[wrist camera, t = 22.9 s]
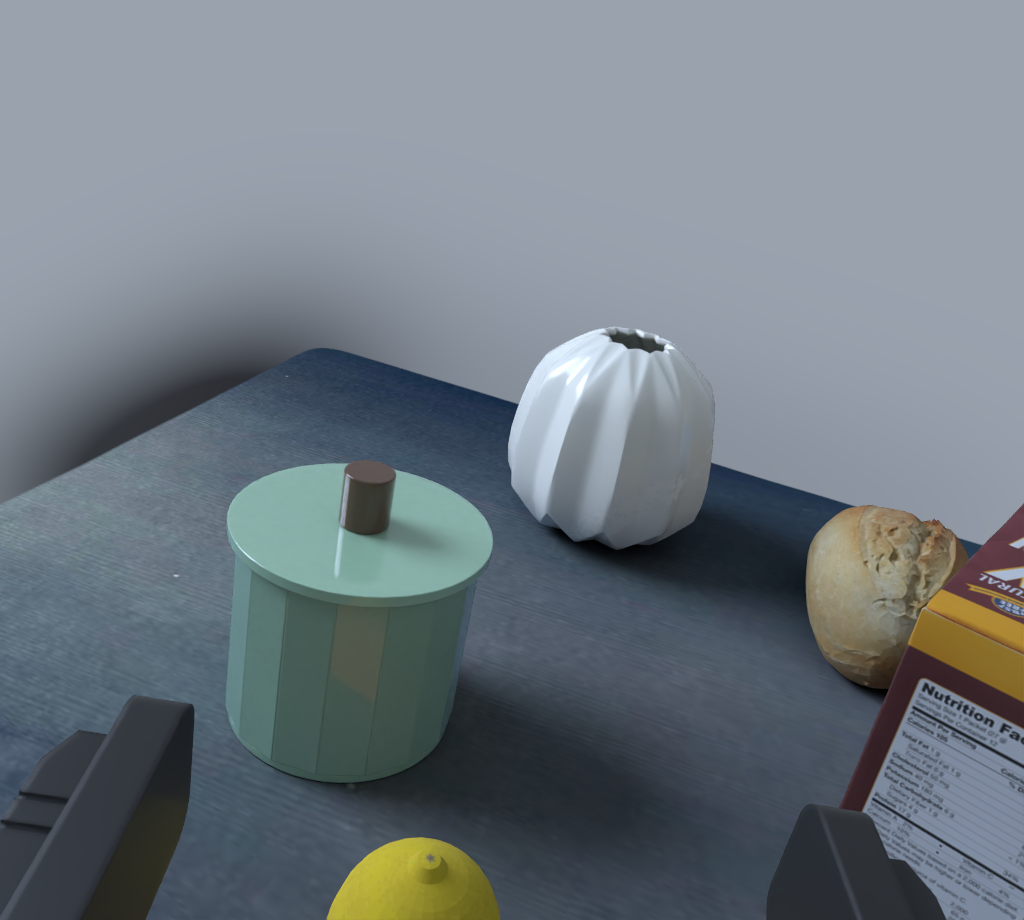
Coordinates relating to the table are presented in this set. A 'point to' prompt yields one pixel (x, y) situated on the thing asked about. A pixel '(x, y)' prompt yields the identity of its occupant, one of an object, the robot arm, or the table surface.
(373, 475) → the pot lid
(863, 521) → the bread roll
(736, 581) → the table surface
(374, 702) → the pot
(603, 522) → the vase
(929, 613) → the supplement box
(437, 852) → the lemon
